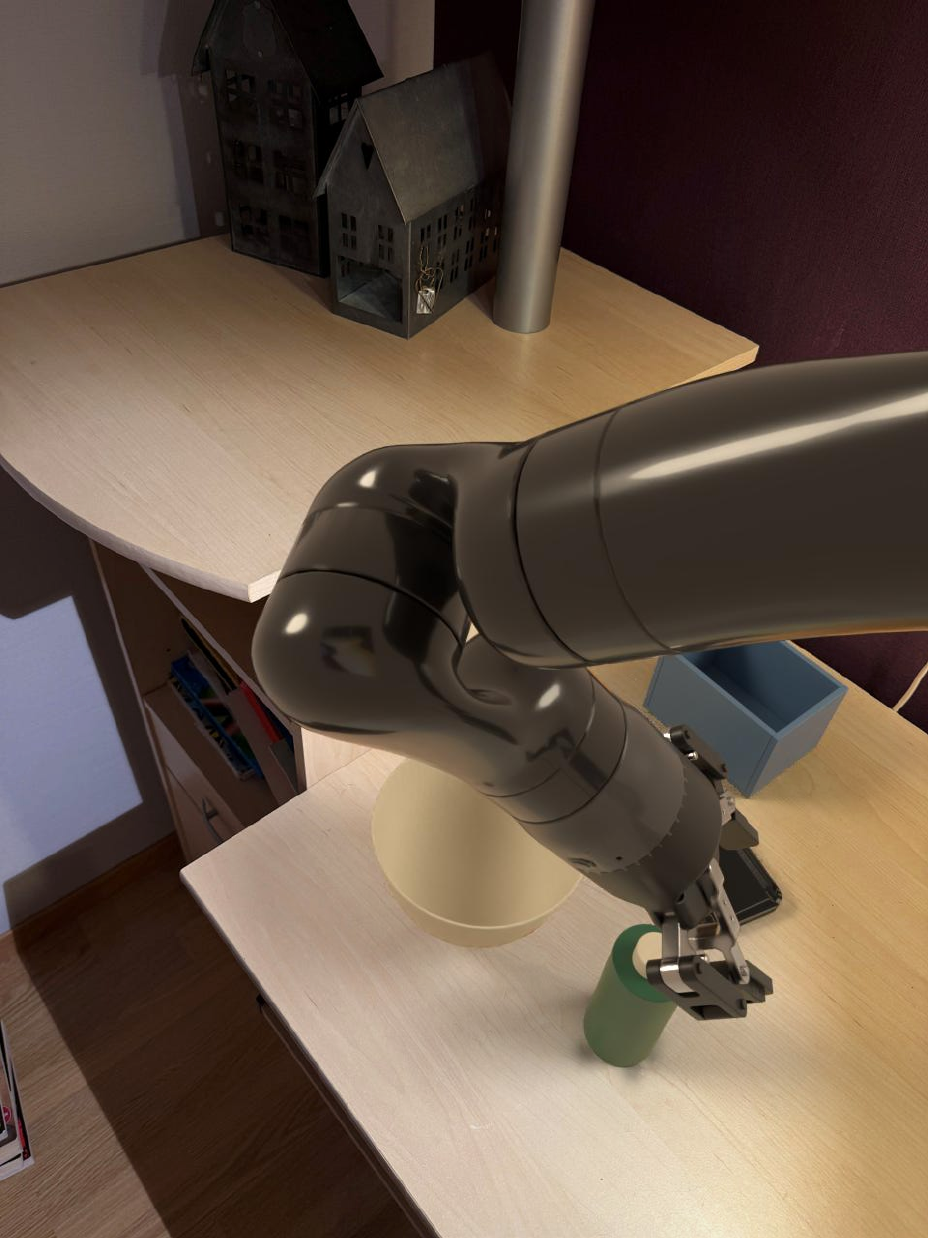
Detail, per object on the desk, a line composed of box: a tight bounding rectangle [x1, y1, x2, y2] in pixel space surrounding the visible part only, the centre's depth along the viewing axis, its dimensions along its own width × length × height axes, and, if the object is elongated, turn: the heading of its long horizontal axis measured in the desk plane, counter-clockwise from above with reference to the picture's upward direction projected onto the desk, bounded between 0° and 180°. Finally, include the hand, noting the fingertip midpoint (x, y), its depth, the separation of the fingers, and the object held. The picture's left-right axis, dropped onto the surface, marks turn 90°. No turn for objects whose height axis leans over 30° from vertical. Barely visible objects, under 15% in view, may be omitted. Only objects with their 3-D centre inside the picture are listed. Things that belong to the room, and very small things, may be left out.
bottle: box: [583, 923, 678, 1068], centre depth 61 cm, size 5×5×12 cm
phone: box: [699, 845, 784, 927], centre depth 77 cm, size 8×1×15 cm
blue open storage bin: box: [642, 640, 850, 799], centre depth 84 cm, size 13×10×8 cm
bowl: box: [370, 758, 585, 949], centre depth 69 cm, size 16×16×10 cm
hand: (749, 912), depth 52 cm, fingers open, 8 cm apart
